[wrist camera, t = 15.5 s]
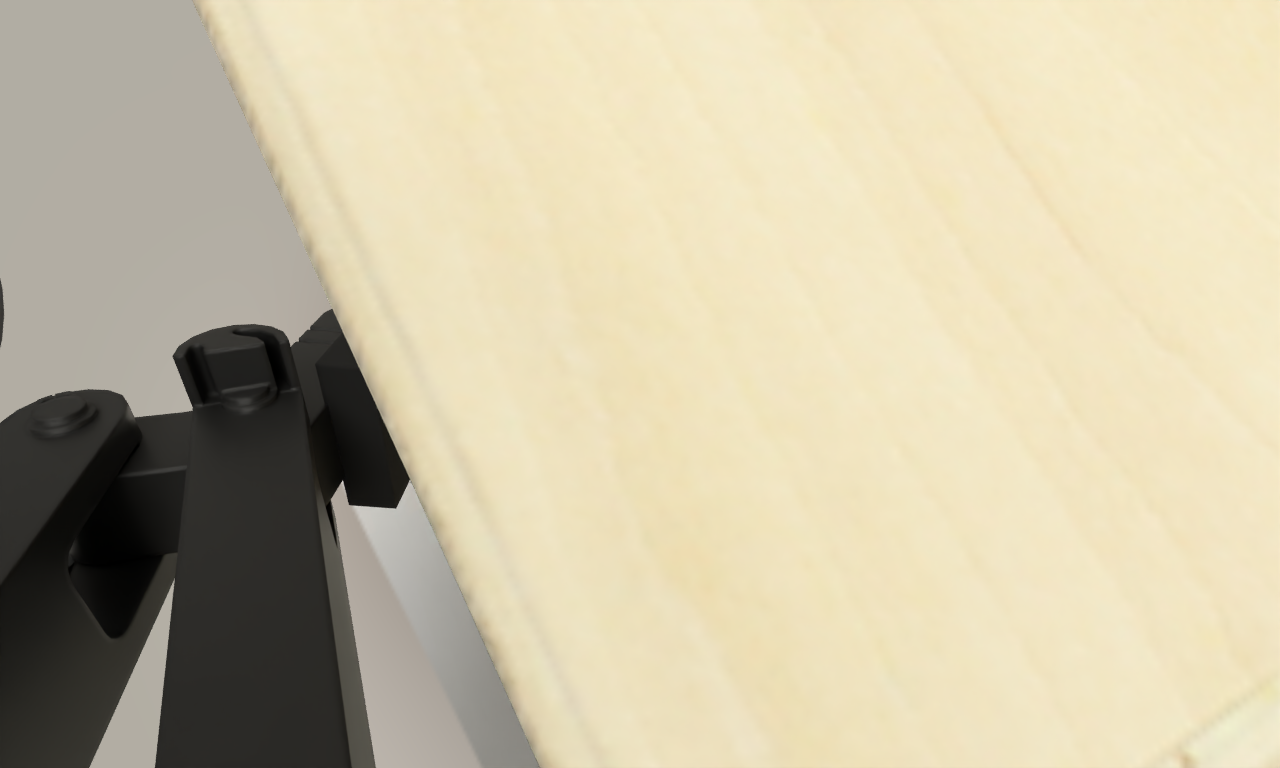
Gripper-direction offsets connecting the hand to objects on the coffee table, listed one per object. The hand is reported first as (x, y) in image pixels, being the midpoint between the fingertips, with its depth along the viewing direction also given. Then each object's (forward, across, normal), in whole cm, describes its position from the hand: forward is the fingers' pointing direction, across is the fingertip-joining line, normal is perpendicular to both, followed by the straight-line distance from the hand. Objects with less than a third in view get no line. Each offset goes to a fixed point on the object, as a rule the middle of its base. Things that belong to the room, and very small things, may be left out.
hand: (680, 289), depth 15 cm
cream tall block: (+5, 0, -9) cm, 11 cm away
